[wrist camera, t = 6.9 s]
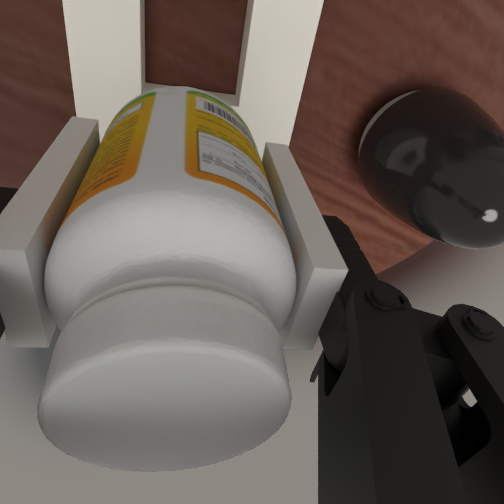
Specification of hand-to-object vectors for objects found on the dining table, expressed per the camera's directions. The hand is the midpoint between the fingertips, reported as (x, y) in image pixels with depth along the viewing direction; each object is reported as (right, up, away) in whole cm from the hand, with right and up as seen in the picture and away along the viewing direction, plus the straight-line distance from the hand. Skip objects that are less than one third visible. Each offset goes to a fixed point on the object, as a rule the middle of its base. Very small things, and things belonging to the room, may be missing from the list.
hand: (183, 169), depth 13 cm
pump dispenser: (+16, +8, +21) cm, 28 cm away
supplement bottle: (0, +1, +1) cm, 1 cm away
